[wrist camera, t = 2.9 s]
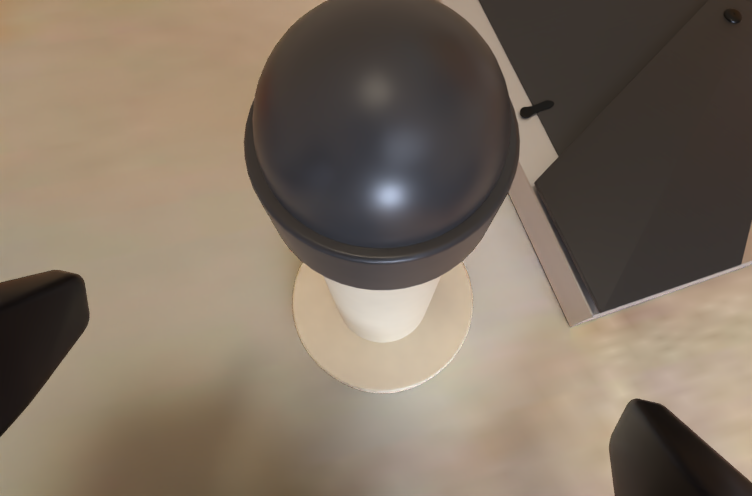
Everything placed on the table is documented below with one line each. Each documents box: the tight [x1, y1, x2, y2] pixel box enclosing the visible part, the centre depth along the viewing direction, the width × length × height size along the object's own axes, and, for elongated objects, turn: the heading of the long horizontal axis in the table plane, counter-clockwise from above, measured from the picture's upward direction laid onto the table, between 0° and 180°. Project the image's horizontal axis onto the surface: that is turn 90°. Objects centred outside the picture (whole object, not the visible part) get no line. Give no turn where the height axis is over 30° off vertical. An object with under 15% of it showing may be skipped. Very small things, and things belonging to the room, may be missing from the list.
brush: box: [244, 0, 520, 393], centre depth 12 cm, size 6×6×14 cm
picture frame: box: [437, 0, 752, 327], centre depth 20 cm, size 16×3×21 cm
